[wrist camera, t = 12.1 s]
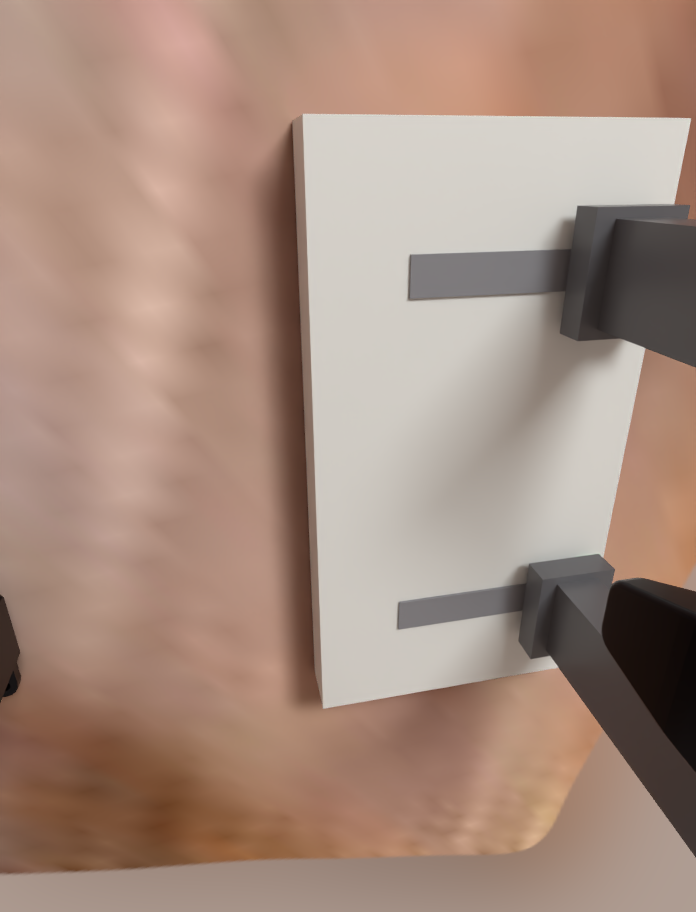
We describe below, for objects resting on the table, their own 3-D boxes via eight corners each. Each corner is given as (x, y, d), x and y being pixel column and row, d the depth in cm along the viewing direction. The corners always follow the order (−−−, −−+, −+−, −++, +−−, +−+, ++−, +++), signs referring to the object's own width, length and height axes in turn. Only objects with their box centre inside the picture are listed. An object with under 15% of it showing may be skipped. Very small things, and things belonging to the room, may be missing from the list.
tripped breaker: (518, 641, 23) (679, 880, 15) (528, 563, 22) (714, 783, 14) (583, 630, 24) (773, 856, 16) (598, 553, 22) (816, 760, 14)
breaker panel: (314, 671, 25) (323, 710, 23) (292, 120, 17) (303, 113, 15) (557, 631, 27) (583, 665, 25) (645, 123, 19) (693, 118, 17)
